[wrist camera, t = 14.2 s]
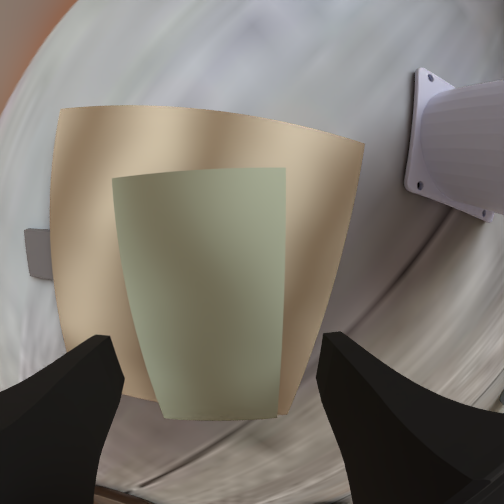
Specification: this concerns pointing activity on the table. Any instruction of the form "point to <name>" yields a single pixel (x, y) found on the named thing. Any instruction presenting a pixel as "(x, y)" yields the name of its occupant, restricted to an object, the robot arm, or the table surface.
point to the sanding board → (182, 159)
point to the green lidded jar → (502, 397)
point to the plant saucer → (115, 497)
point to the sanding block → (207, 286)
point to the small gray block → (39, 253)
